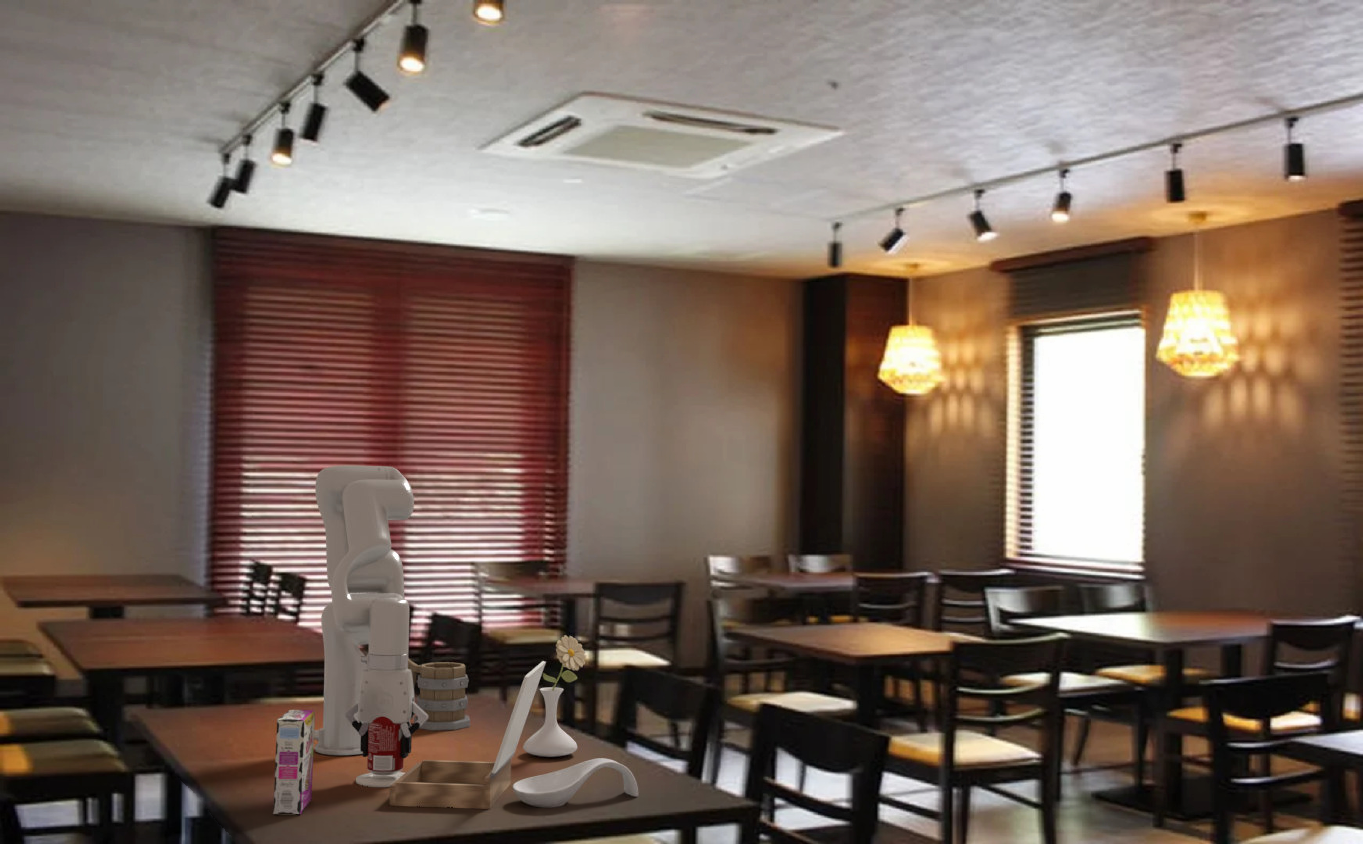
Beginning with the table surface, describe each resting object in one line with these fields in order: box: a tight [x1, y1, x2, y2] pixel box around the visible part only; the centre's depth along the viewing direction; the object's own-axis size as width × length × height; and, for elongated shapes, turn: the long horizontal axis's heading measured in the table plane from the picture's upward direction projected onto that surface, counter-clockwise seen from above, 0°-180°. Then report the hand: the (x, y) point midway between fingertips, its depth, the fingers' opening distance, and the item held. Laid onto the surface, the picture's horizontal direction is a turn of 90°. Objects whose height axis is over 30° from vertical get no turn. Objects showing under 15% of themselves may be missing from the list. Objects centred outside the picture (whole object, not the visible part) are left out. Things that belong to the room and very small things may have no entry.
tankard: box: [408, 657, 471, 732], centre depth 330 cm, size 20×13×15 cm, turn 58°
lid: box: [490, 660, 547, 778], centre depth 260 cm, size 19×20×1 cm
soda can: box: [366, 712, 405, 775], centre depth 270 cm, size 7×7×12 cm
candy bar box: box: [272, 709, 316, 815], centre depth 248 cm, size 11×5×16 cm, turn 5°
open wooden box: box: [389, 758, 512, 810], centre depth 260 cm, size 18×20×5 cm
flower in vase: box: [522, 634, 587, 758], centre depth 297 cm, size 13×11×25 cm
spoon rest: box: [512, 757, 639, 808], centre depth 257 cm, size 24×12×7 cm, turn 119°
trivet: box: [355, 771, 406, 788], centre depth 270 cm, size 11×11×1 cm
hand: (385, 755), depth 270 cm, fingers closed on soda can, 6 cm apart
